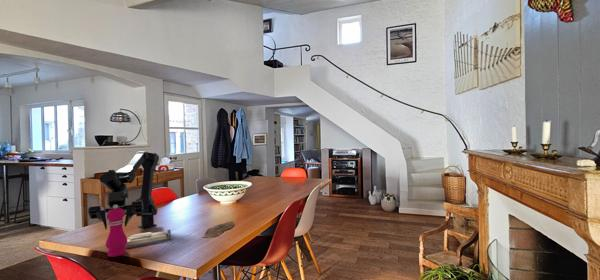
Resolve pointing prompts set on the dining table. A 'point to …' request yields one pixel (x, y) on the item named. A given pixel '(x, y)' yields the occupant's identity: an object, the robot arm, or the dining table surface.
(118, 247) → the pepper mill
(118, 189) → the robot arm
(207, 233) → the wooden fragment
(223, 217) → the dining table surface
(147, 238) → the birch offcut stack
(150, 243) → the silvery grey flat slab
